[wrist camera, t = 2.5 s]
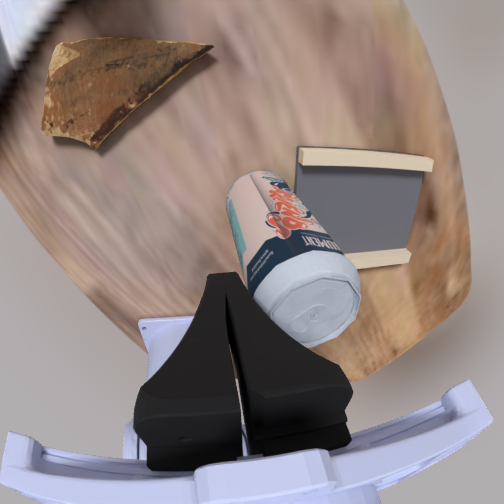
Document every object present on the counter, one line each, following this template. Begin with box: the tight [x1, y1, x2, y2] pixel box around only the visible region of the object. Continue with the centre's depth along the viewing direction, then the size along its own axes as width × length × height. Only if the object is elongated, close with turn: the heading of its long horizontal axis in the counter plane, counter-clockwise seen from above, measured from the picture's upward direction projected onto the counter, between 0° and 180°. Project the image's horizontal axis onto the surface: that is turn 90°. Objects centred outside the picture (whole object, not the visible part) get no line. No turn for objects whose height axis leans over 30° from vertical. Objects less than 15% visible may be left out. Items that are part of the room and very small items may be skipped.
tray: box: [294, 146, 434, 269], centre depth 22 cm, size 10×12×2 cm
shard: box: [41, 37, 214, 149], centre depth 15 cm, size 11×8×2 cm
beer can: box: [226, 171, 361, 348], centre depth 16 cm, size 5×5×12 cm
